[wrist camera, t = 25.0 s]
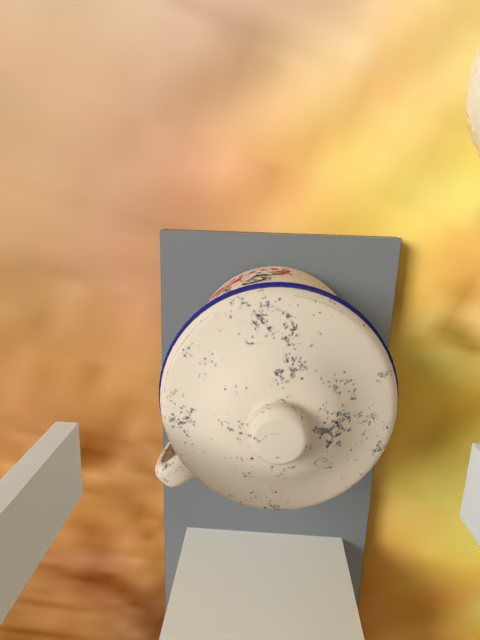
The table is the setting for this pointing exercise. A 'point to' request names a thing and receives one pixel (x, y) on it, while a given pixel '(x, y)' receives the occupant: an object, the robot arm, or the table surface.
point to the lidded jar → (474, 103)
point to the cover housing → (261, 588)
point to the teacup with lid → (276, 393)
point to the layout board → (195, 291)
